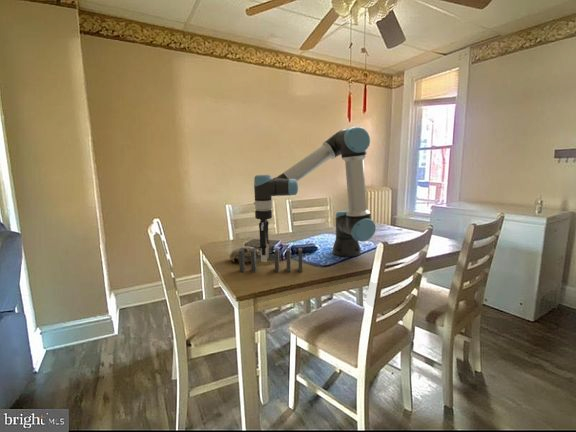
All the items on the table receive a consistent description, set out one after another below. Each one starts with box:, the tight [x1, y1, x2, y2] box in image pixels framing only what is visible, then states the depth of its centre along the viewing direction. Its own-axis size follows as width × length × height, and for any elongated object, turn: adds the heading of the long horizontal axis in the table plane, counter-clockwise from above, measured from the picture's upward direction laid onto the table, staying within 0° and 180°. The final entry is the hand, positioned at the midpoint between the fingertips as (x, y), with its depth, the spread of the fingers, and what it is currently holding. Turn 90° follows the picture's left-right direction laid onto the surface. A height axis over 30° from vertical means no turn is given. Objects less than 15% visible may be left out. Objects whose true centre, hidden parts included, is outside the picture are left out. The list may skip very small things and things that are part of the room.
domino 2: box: [250, 247, 257, 273], centre depth 142 cm, size 2×5×10 cm, turn 177°
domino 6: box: [297, 247, 303, 273], centre depth 141 cm, size 2×5×10 cm, turn 178°
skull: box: [229, 245, 261, 264], centre depth 156 cm, size 10×16×10 cm
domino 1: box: [238, 248, 246, 273], centre depth 142 cm, size 2×5×10 cm, turn 177°
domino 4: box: [274, 247, 280, 273], centre depth 141 cm, size 2×5×10 cm, turn 178°
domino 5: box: [286, 247, 292, 273], centre depth 141 cm, size 2×5×10 cm, turn 178°
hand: (264, 259), depth 141 cm, fingers closed on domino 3, 5 cm apart
